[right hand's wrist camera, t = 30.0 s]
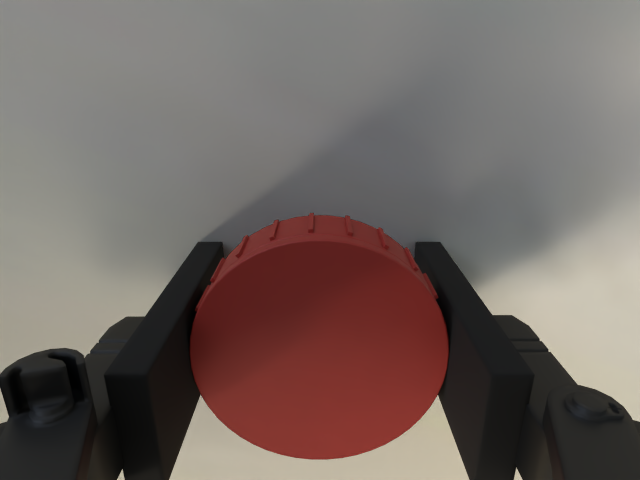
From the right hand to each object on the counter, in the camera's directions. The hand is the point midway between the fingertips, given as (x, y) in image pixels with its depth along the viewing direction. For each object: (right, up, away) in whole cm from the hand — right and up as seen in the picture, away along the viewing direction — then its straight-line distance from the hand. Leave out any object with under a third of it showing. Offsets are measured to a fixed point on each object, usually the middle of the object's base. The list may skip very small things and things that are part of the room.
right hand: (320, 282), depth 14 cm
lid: (0, -1, -4) cm, 4 cm away
